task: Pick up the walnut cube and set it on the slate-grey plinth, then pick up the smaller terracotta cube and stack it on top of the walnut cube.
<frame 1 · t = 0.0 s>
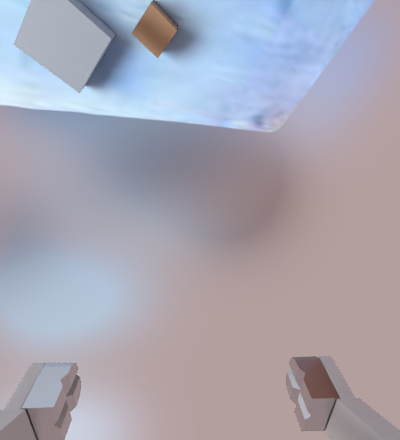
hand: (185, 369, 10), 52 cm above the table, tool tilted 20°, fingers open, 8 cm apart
walnut cube: (156, 26, 46), on the table
plinth: (70, 36, 46), on the table
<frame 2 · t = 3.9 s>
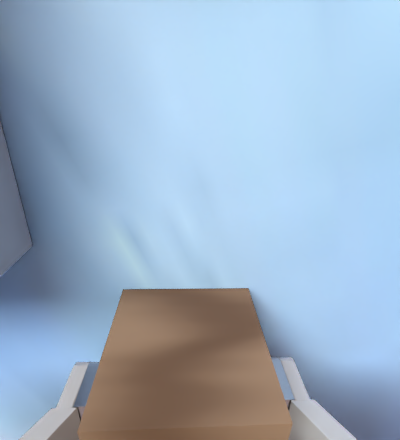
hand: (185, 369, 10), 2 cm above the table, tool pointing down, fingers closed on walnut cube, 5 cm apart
walnut cube: (186, 334, 12), on the table, touching gripper
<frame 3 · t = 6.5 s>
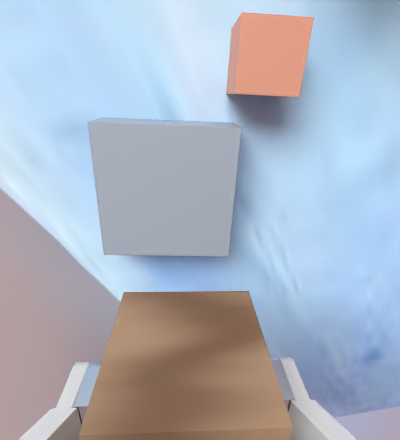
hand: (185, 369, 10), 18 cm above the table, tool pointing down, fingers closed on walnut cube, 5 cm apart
walnut cube: (186, 337, 12), point 16 cm above the table, touching gripper
plinth: (169, 182, 25), on the table
terracotta cube: (256, 64, 22), on the table
when the fingers open (7 cm above the table, at t = 9.1 s): walnut cube drops 1 cm, resting on plinth.
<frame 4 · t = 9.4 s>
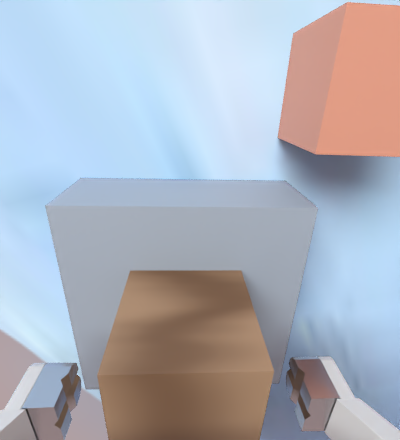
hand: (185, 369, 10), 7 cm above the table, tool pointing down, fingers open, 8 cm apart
walnut cube: (185, 313, 13), point 4 cm above the table, touching plinth
plinth: (184, 265, 17), on the table
terracotta cube: (329, 91, 13), on the table
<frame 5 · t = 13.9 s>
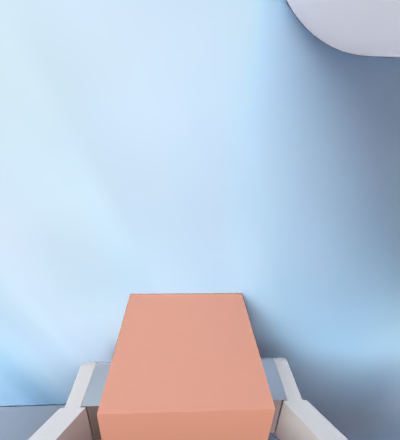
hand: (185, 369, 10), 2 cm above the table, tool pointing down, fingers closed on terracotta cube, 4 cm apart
terracotta cube: (185, 334, 12), on the table, touching gripper
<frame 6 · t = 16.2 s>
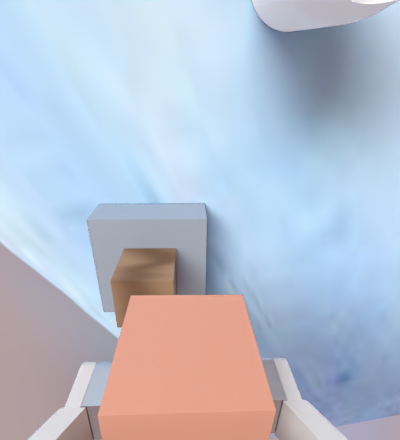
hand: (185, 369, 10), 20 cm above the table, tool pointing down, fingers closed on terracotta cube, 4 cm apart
walnut cube: (151, 269, 27), point 4 cm above the table, touching plinth
plinth: (155, 248, 31), on the table
terracotta cube: (186, 336, 12), point 18 cm above the table, touching gripper
when the fingers open (12 cm above the table, at t = 18.4 s): terracotta cube drops 1 cm, resting on walnut cube.
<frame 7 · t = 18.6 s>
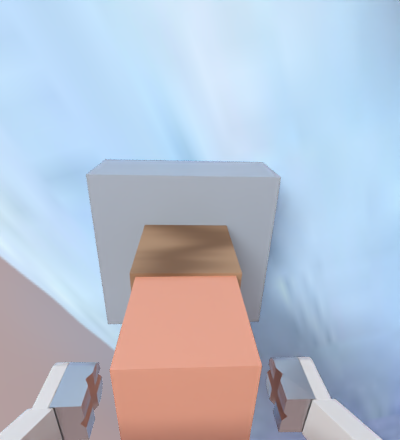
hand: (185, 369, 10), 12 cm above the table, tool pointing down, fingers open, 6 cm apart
walnut cube: (185, 259, 18), point 4 cm above the table, touching plinth, terracotta cube
plinth: (184, 231, 21), on the table
terracotta cube: (186, 314, 13), point 9 cm above the table, touching walnut cube
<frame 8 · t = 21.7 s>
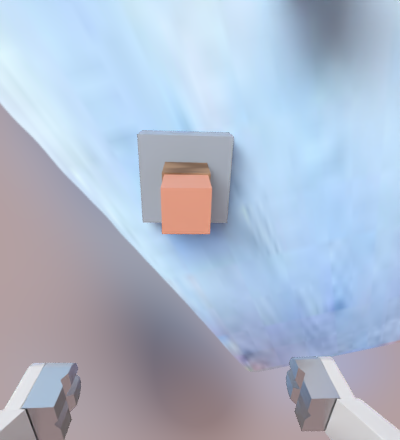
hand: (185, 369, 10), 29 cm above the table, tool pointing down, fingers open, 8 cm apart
walnut cube: (185, 182, 33), point 4 cm above the table, touching plinth, terracotta cube
plinth: (185, 173, 37), on the table
terracotta cube: (186, 195, 29), point 9 cm above the table, touching walnut cube
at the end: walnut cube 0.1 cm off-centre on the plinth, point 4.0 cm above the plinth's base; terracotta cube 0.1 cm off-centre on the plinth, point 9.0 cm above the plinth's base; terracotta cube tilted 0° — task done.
